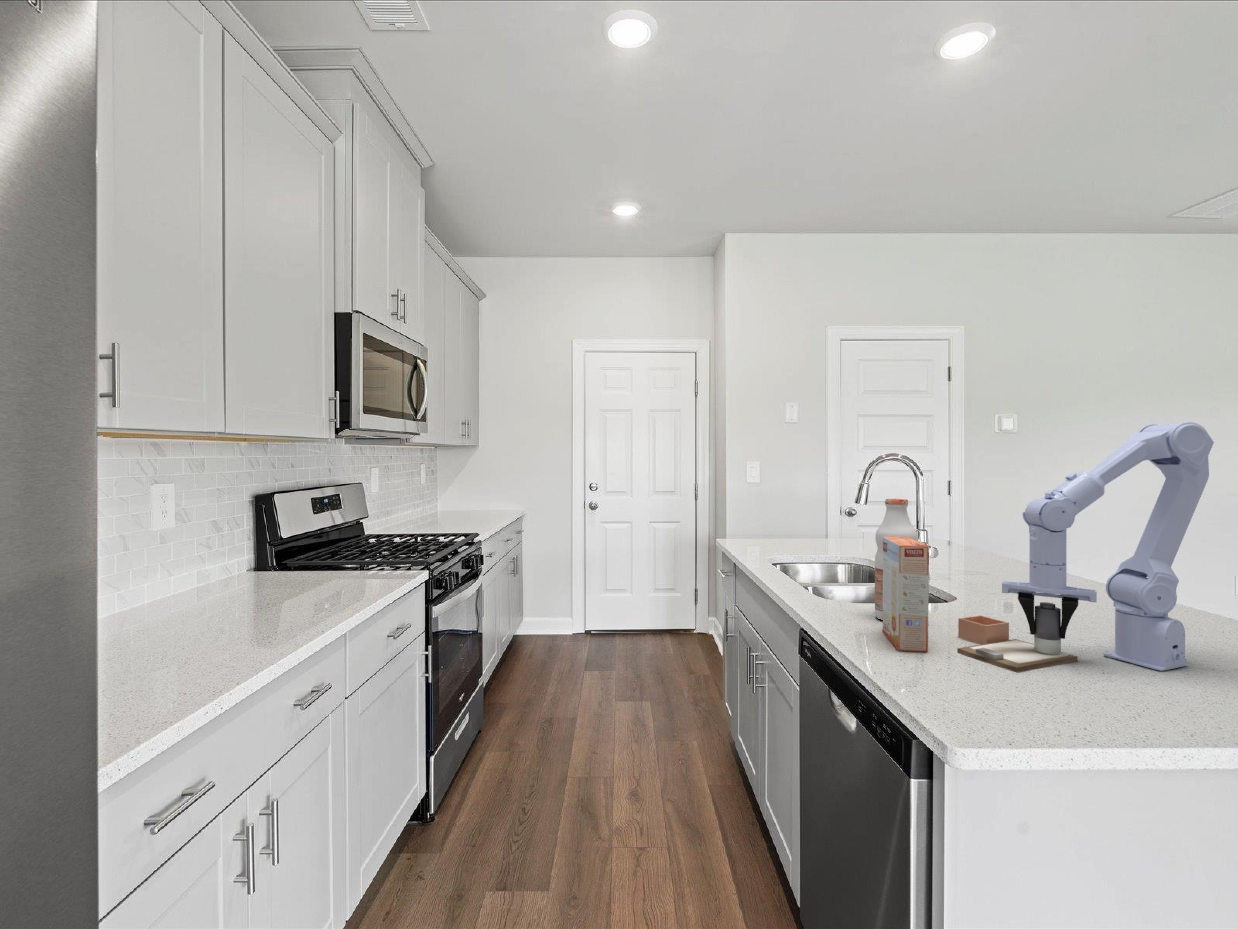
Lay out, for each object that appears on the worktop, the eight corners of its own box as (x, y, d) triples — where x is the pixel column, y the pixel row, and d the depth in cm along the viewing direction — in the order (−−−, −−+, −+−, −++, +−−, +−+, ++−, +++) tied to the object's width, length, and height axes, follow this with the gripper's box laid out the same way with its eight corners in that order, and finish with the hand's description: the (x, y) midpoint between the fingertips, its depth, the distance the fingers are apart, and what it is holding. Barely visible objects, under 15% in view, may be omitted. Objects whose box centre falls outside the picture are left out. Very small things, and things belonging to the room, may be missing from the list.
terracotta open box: (1008, 642, 127) (1008, 622, 127) (986, 646, 124) (986, 626, 124) (980, 634, 133) (980, 615, 133) (958, 637, 130) (958, 618, 130)
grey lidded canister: (1060, 649, 117) (1060, 603, 117) (1061, 655, 114) (1061, 607, 114) (1034, 646, 120) (1034, 600, 120) (1034, 651, 116) (1034, 604, 116)
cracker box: (930, 653, 120) (930, 545, 120) (897, 651, 121) (897, 544, 121) (911, 633, 134) (911, 536, 133) (881, 632, 135) (881, 535, 135)
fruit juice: (892, 612, 151) (892, 497, 151) (928, 621, 143) (928, 499, 142) (865, 617, 147) (865, 498, 146) (900, 627, 138) (900, 501, 138)
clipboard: (1077, 660, 115) (1077, 651, 115) (1016, 672, 109) (1016, 662, 109) (1015, 643, 126) (1015, 634, 126) (957, 652, 120) (957, 643, 120)
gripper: (1095, 563, 116) (1095, 636, 116) (1003, 556, 124) (1003, 624, 124) (1097, 569, 110) (1097, 646, 110) (1001, 561, 118) (1000, 633, 119)
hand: (1047, 635), depth 117 cm, fingers closed on grey lidded canister, 4 cm apart
